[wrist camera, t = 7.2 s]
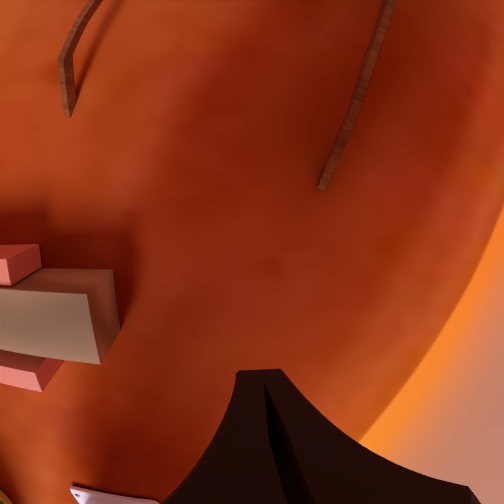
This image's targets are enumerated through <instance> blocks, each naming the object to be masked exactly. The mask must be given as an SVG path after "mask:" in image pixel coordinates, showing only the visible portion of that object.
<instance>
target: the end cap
mask: <svg viewBox="0 0 504 504" xmlns="http://www.w3.org/2000/svg"><path fill="white" fill-rule="evenodd" d="M41 267H42V263H41V256H40V248H39V244H15V245H0V285H3V286H12V285H13V284H15V283H16V282H18V281H20V280H21V279H23V278H24V277H26V276H28V275H29V274H31V273H33V272H34V271H36V270H37V269H39V268H41ZM62 363H63V360H60V359H53V358H46V357H40V356H34V355H28V354H22V353H17V352H12V351H7V350H2V349H0V383H4V384H8V385H12V386H16V387H20V388H25V389H29V390H34V391H39V392H42V391H43V390H44V388H45V387H46V386H47V384H48V383H49V381H50V380H51V379H52V377H53V376H54V374H55V373H56V372H57V370H58V369H59V368H60V366H61V365H62Z"/></svg>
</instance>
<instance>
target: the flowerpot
mask: <svg viewBox="0 0 504 504" xmlns="http://www.w3.org/2000/svg"><path fill="white" fill-rule="evenodd" d="M0 504H13V503H12V502H11V501H10V499H9V498H8V497H7V496H6V495H5V493H4V492H3V491H2V490H1V489H0Z"/></svg>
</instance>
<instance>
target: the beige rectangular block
mask: <svg viewBox="0 0 504 504" xmlns="http://www.w3.org/2000/svg"><path fill="white" fill-rule="evenodd" d="M120 330H121V329H120V322H119V316H118V309H117V301H116V293H115V285H114V276H113V269H60V268H39V269H37V270H36V271H34V272H33V273H31V274H29V275H28V276H26V277H24V278H23V279H21V280H20V281H18V282H16V283H15V284H13V285H12V286H3V285H0V349H2V350H7V351H12V352H17V353H22V354H28V355H34V356H40V357H46V358H53V359H60V360H67V361H75V362H83V363H92V364H101V362H102V361H103V359H104V357H105V355H106V354H107V352H108V350H109V349H110V347H111V345H112V343H113V342H114V340H115V338H116V337H117V335H118V333H119V332H120Z"/></svg>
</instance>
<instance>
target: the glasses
mask: <svg viewBox="0 0 504 504" xmlns="http://www.w3.org/2000/svg"><path fill="white" fill-rule="evenodd" d="M102 1H103V0H89V1H88V2H87V4H86V5H85V7H84V8H83V10H82V11H81V13H80V14H79V16H78V17H77V19H76V20H75V22H74V24H73V26H72V28H71V30H70V32H69V34H68V37H67V39H66V41H65V43H64V46H63V48H62V50H61V53H60V55H59V58H58V68H59V77H60V85H61V93H62V101H63V107H64V114H65V116H67V117H71V115H72V113H73V110H74V108H75V105H76V103H77V102H76V93H75V83H74V70H73V53H74V50H75V48H76V46H77V44H78V42H79V40H80V37H81V35H82V33H83V31H84V29H85V27H86V25H87V23H88V22H89V20H90V18H91V17H92V15H93V14H94V12H95V11H96V9H97V8H98V7H99V5H100V4H101V2H102ZM395 3H396V0H384V2H383V5H382V8H381V11H380V14H379V17H378V20H377V23H376V26H375V29H374V32H373V35H372V38H371V41H370V44H369V47H368V50H367V52H366V55H365V58H364V61H363V64H362V67H361V70H360V74H359V77H358V80H357V83H356V86H355V89H354V92H353V95H352V98H351V101H350V104H349V106H348V109H347V112H346V114H345V117H344V120H343V123H342V125H341V128H340V130H339V133H338V135H337V137H336V140H335V142H334V145H333V147H332V149H331V152H330V154H329V157H328V159H327V161H326V164H325V166H324V169H323V171H322V174H321V177H320V181H319V184H318V187H317V189H319V190H322V191H325V190H326V187H327V185H328V183H329V181H330V179H331V176H332V174H333V172H334V170H335V167H336V165H337V163H338V161H339V159H340V156H341V154H342V152H343V149H344V147H345V145H346V143H347V140H348V138H349V136H350V133H351V131H352V128H353V126H354V123H355V121H356V118H357V116H358V113H359V111H360V108H361V105H362V103H363V100H364V98H365V95H366V92H367V89H368V85H369V82H370V79H371V76H372V73H373V70H374V66H375V63H376V60H377V57H378V55H379V52H380V49H381V46H382V43H383V40H384V37H385V34H386V31H387V28H388V25H389V22H390V19H391V16H392V12H393V9H394V6H395Z"/></svg>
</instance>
